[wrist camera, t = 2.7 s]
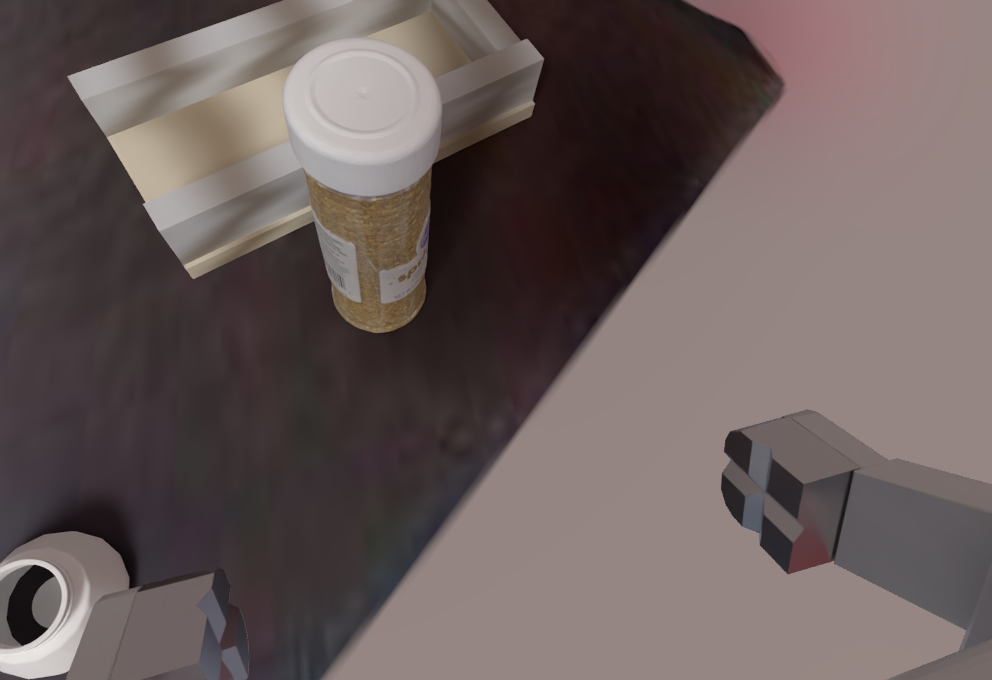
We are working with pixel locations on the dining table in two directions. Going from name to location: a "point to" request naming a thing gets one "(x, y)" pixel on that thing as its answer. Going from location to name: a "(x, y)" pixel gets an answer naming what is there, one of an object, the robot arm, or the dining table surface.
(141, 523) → the dining table surface
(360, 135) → the sprinkles bottle
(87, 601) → the lidless jar
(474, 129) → the track
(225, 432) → the dining table surface
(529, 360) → the dining table surface
